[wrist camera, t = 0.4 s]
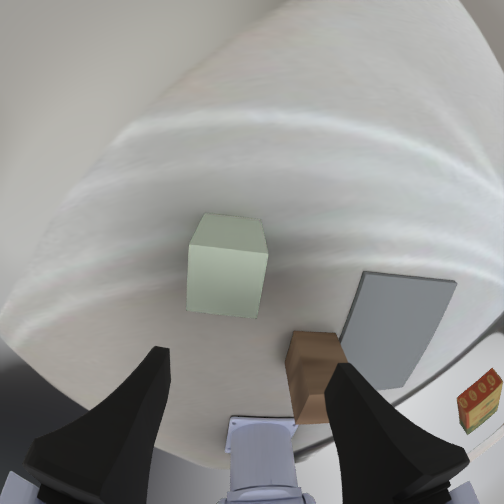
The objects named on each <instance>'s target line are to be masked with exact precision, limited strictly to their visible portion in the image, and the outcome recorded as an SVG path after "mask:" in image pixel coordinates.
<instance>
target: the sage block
mask: <svg viewBox="0 0 504 504" xmlns="http://www.w3.org/2000/svg"><path fill="white" fill-rule="evenodd" d="M268 254H269V253H268V249H267V245H266V240H265V236H264V231H263V227H262V222H261V220H260V219H252V218H244V217H236V216H228V215H220V214H211V213H205V214H204V215H203V217H202V219H201V221H200V223H199V225H198V227H197V229H196V231H195V233H194V235H193V237H192V239H191V241H190V243H189V252H188V272H187V298H186V311H192V312H200V313H208V314H216V315H225V316H234V317H244V318H254V319H257V315H258V309H259V304H260V299H261V293H262V288H263V282H264V277H265V271H266V265H267V260H268Z"/></svg>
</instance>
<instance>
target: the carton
mask: <svg viewBox="0 0 504 504" xmlns="http://www.w3.org/2000/svg"><path fill="white" fill-rule="evenodd" d="M502 384H503V381H502V379H501V378H500V376H499V375H498V374H497V373H496V372H495V370H494V369H493V368H491V369H490V370H489V371H488V372H487V373H486V374H485V375H483V376H482V377H481V378H480V379H479V380H478V381H476V382H475V383H474V384H473V385H471V386H470V387H469V388H468V389H467V390H465V391H464V392H463V393H462V394H461V395H459V396H458V397H457V404H458V411H459V419H460V424H461V426H462V427H463V429H464V431H465V432H466V434H467V435H468V434H470V433H471V432H472V431H474V430H475V429H476V428H477V427H479V426H480V425H481V424H482V423H484V422H485V421H486V420H487V419H488V418H489V417H491V416H492V415H493V414H494V413H495V412H496V411H497V408H498V404H499V399H500V395H501V390H502Z"/></svg>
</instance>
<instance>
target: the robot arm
mask: <svg viewBox="0 0 504 504" xmlns="http://www.w3.org/2000/svg"><path fill="white" fill-rule="evenodd" d="M170 383H171V373H170V350H169V348H164V347H158V346H155V347H153V348H152V349H151V351H150V352H149V353H148V355H147V356H146V357H145V358H144V360H143V361H142V362H141V363H140V364H139V366H138V367H137V368H136V369H135V370H134V371H133V372H132V373H131V375H130V376H129V377H128V378H127V379H126V380H125V381H124V382H123V383H122V384H121V385H120V386H119V387H118V388H117V389H116V390H115V391H114V392H112V393H111V394H110V395H109V396H108V397H107V398H106V399H104V400H103V401H102V402H101V403H99V404H98V405H97V406H96V407H94V408H93V409H91V410H90V411H88V412H87V413H86V414H84V415H83V416H81V417H79V418H78V419H76V420H74V421H73V422H71V423H69V424H67V425H65V426H64V427H62V428H60V429H58V430H55V431H53V432H51V433H49V434H46V435H43V436H41V437H38V438H35V439H34V441H33V442H32V444H31V445H30V447H29V450H28V452H27V454H26V456H25V459H24V461H23V463H22V464H23V467H24V468H25V469H26V470H27V471H28V472H29V473H30V474H31V475H32V476H33V477H34V478H36V479H37V480H38V481H39V482H40V483H41V486H40V488H38V487H37V486H35V485H33V484H32V483H30V482H28V481H27V480H25V479H23V478H22V477H20V476H19V475H17V474H15V473H14V472H12V471H10V473H9V475H8V477H7V480H6V483H5V486H4V488H3V490H2V493H1V496H0V504H146V498H147V489H148V480H149V471H150V464H151V458H152V452H153V448H154V443H155V440H156V436H157V433H158V430H159V426H160V423H161V420H162V416H163V413H164V410H165V407H166V403H167V399H168V394H169V388H170ZM324 398H325V405H326V412H327V416H328V419H329V423H330V427H331V430H332V434H333V437H334V441H335V444H336V447H337V452H338V456H339V463H340V471H341V480H342V497H343V504H479V501H478V499H477V496H476V494H475V492H474V489H473V487H472V485H471V483H470V481H468V482H466V483H464V484H462V485H460V486H459V487H457V488H455V489H453V490H452V491H450V492H449V491H448V489H447V488H449V487H450V486H451V484H450V482H449V480H450V479H451V478H453V477H454V476H456V475H457V474H458V473H459V472H461V471H462V470H463V469H464V468H465V467H466V466H467V465H468V464H469V462H470V460H469V458H468V456H467V454H466V452H465V450H464V448H462V447H460V446H457V445H454V444H451V443H449V442H446V441H444V440H442V439H440V438H438V437H435V436H434V435H432V434H430V433H428V432H426V431H425V430H423V429H422V428H420V427H418V426H417V425H415V424H414V423H413V422H411V421H410V420H409V419H407V418H406V417H405V416H403V415H402V414H401V413H399V412H398V411H397V410H396V409H395V408H394V407H393V406H392V405H391V404H389V403H388V402H387V401H386V400H385V399H384V398H383V397H382V396H381V395H380V394H379V393H378V392H377V391H376V390H375V389H374V388H373V387H372V386H371V384H370V383H369V382H368V381H367V380H366V379H365V378H364V377H363V376H362V375H361V374H360V372H359V371H358V370H357V369H356V368H355V367H354V366H353V365H352V364H351V363H338V364H337V366H336V368H335V370H334V373H333V375H332V377H331V379H330V381H329V383H328V385H327V387H326V389H325V391H324ZM297 427H298V425H295V420H294V418H249V417H231V418H230V422H229V428H228V434H227V440H226V446H225V452H226V453H231V468H230V477H231V478H230V492H227V498H222V499H220V501H218V502H217V503H216V504H316V502H315V499H314V498H313V497H312V496H311V495H309V494H308V493H303V494H302V491H301V487H298V484H297V477H296V469H295V463H294V456H293V449H292V442H291V439H292V437H293V435H294V433H295V431H296V429H297Z"/></svg>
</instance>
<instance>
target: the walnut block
mask: <svg viewBox="0 0 504 504" xmlns="http://www.w3.org/2000/svg"><path fill="white" fill-rule="evenodd" d="M338 363H348V361H347V358H346V356H345V354H344V351H343V349H342V347H341V344H340V342H339V340H338V337H337V335H336V333H327V332H304V331H294V332H293V336H292V339H291V343H290V346H289V350H288V353H287V356H286V360H285V368H286V374H287V379H288V385H289V391H290V396H291V402H292V408H293V414H294V420H295V425H299V424H321V423H329V419H328V416H327V412H326V405H325V398H324V391H325V389H326V387H327V385H328V383H329V381H330V379H331V377H332V375H333V373H334V370H335V368H336V366H337V364H338Z"/></svg>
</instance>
